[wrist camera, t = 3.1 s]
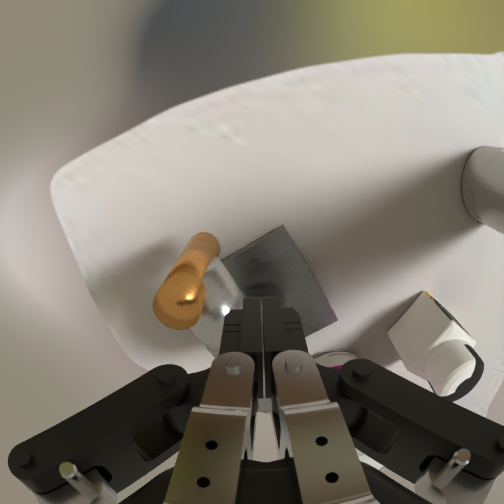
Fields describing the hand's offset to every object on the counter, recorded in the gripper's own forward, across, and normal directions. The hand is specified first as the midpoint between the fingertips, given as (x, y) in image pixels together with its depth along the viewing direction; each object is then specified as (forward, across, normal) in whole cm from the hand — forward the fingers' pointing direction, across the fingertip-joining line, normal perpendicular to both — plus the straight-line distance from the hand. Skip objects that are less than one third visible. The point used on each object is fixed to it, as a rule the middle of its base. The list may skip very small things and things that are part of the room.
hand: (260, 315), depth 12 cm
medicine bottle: (+16, -20, +14) cm, 29 cm away
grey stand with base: (+16, 0, +9) cm, 19 cm away
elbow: (+12, +2, +6) cm, 13 cm away
